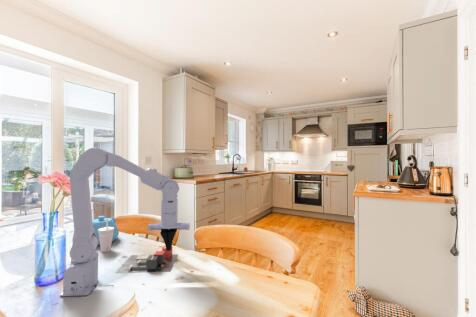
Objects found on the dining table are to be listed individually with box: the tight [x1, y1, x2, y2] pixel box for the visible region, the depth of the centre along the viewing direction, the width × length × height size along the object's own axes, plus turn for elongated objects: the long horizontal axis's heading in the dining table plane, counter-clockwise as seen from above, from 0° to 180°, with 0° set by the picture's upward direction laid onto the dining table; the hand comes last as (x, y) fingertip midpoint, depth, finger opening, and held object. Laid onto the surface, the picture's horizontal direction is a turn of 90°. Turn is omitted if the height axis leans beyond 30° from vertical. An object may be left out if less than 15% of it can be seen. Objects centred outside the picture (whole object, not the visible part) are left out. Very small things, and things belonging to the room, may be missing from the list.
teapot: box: [92, 215, 120, 246], centre depth 113 cm, size 20×20×13 cm
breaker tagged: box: [153, 250, 165, 264], centre depth 87 cm, size 3×3×4 cm
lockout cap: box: [161, 245, 173, 259], centre depth 93 cm, size 4×4×4 cm
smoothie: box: [98, 219, 114, 253], centre depth 102 cm, size 6×6×14 cm
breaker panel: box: [114, 253, 179, 274], centre depth 87 cm, size 15×19×2 cm
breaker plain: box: [146, 256, 158, 269], centre depth 83 cm, size 3×3×3 cm
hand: (168, 249), depth 83 cm, fingers closed
